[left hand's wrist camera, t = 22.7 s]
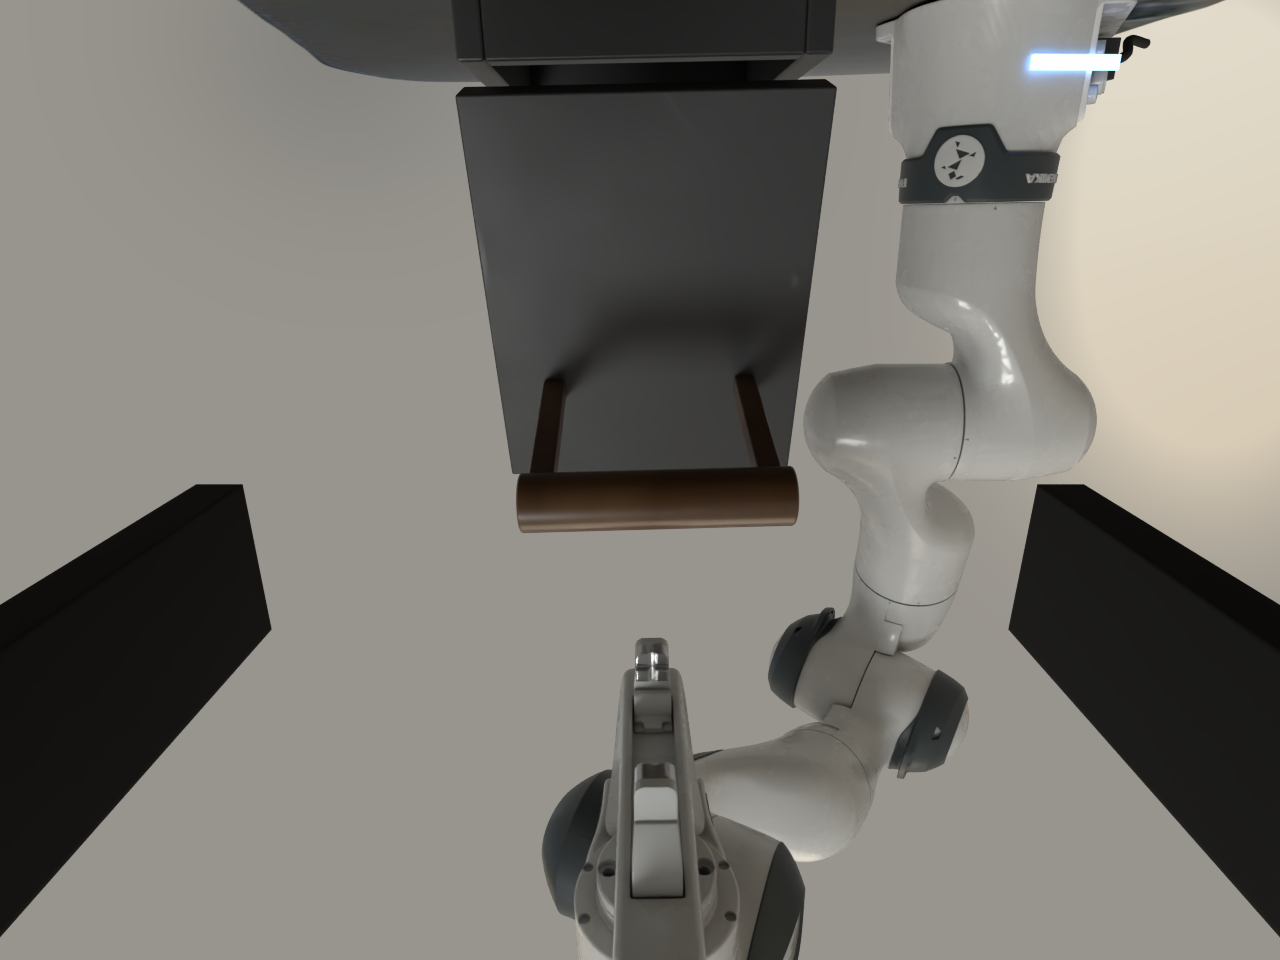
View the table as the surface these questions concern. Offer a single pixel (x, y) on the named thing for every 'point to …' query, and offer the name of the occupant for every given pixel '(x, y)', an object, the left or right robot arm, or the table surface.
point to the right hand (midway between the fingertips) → (653, 701)
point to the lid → (648, 293)
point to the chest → (640, 40)
